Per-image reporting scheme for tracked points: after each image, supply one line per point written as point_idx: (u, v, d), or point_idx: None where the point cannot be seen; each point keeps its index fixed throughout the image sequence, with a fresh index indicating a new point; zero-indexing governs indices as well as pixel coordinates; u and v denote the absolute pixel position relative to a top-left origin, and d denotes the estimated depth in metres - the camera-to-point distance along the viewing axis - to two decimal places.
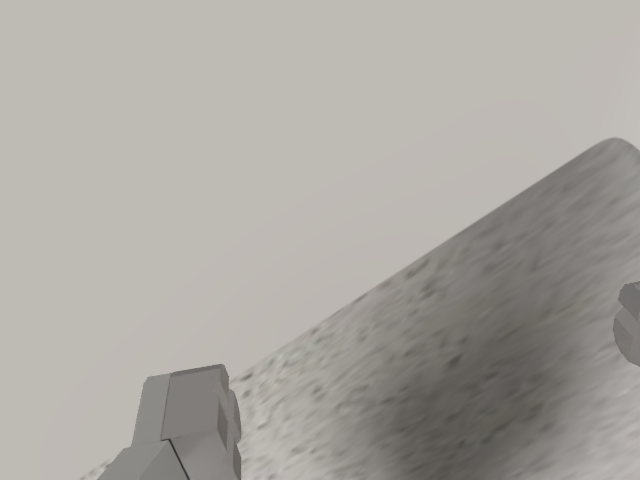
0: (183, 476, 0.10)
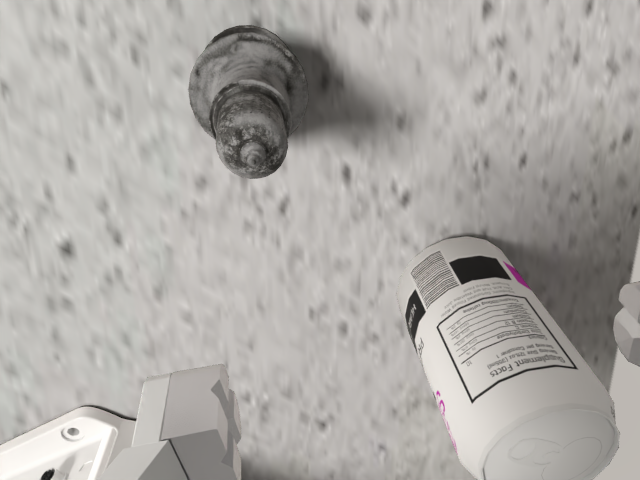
0: (183, 476, 0.10)
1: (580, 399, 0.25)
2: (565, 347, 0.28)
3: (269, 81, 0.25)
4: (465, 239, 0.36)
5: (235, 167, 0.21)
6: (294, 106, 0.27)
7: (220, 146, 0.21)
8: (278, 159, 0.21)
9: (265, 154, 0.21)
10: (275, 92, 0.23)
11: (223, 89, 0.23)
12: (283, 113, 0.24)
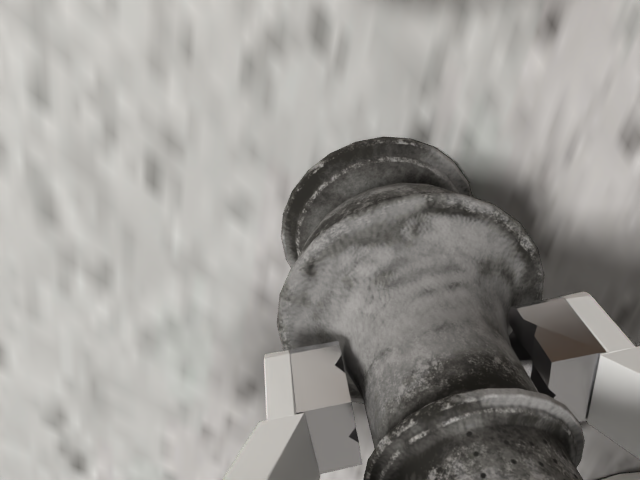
0: (312, 450, 0.10)
1: None
2: None
3: (501, 331, 0.10)
4: None
5: None
6: None
7: None
8: None
9: None
10: (567, 420, 0.08)
11: (432, 413, 0.08)
12: None
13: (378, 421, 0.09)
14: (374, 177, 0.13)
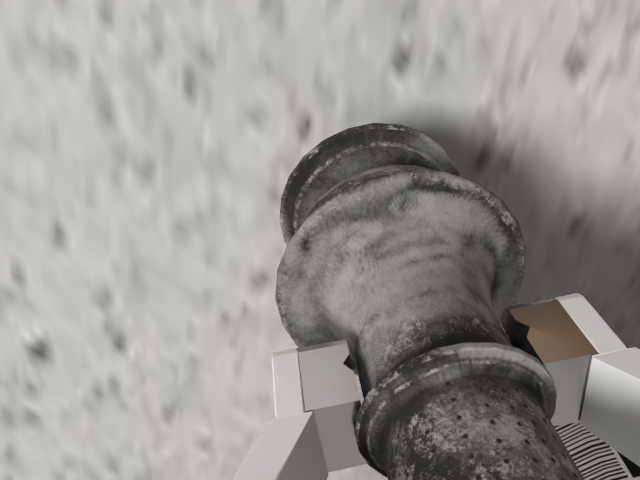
0: (320, 448, 0.10)
1: None
2: None
3: (482, 298, 0.11)
4: None
5: None
6: None
7: None
8: None
9: None
10: (539, 372, 0.09)
11: (414, 365, 0.09)
12: None
13: (368, 379, 0.10)
14: (366, 161, 0.14)
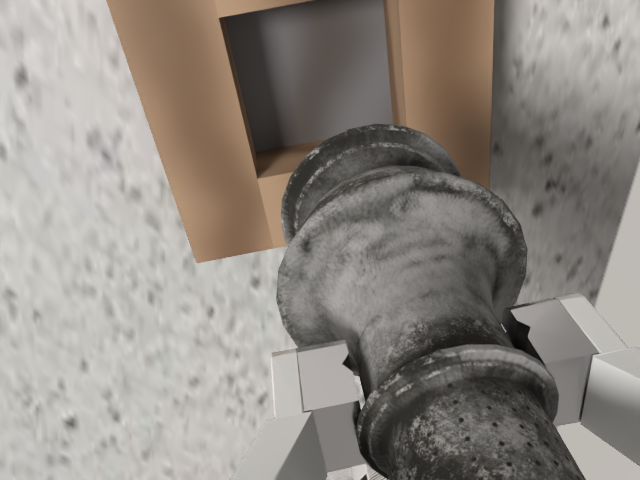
0: (319, 449, 0.10)
1: None
2: None
3: (484, 299, 0.11)
4: None
5: None
6: None
7: None
8: None
9: None
10: (541, 374, 0.09)
11: (416, 367, 0.09)
12: None
13: (369, 381, 0.10)
14: (367, 162, 0.14)
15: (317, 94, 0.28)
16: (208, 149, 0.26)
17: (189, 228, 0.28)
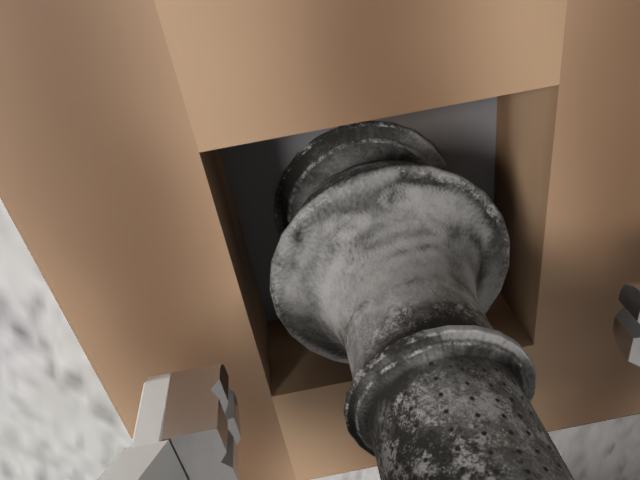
0: (183, 476, 0.10)
1: None
2: None
3: (467, 286, 0.11)
4: None
5: None
6: None
7: None
8: None
9: None
10: (518, 354, 0.09)
11: (399, 347, 0.09)
12: None
13: (356, 362, 0.10)
14: (357, 157, 0.15)
15: None
16: (185, 360, 0.14)
17: None
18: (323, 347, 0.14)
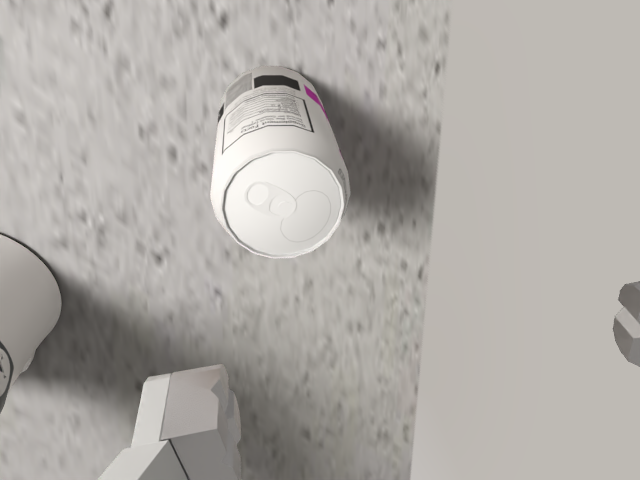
0: (183, 476, 0.10)
1: (304, 148, 0.30)
2: (315, 124, 0.32)
3: None
4: (277, 67, 0.40)
5: None
6: None
7: None
8: None
9: None
10: None
11: None
12: None
13: None
14: None
15: None
16: None
17: None
18: None
